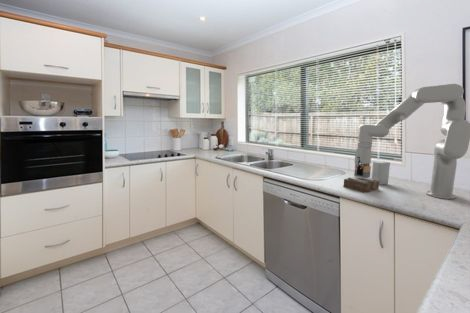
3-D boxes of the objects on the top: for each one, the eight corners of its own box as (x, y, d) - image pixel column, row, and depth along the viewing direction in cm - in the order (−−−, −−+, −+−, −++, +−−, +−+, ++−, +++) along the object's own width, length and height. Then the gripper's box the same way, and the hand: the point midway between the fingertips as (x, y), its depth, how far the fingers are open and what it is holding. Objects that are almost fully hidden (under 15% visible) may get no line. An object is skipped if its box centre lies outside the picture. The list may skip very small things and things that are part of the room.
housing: (359, 174, 155) (359, 164, 154) (369, 177, 149) (370, 165, 148) (354, 175, 153) (355, 164, 152) (365, 178, 147) (366, 166, 146)
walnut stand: (356, 183, 162) (357, 175, 161) (378, 189, 150) (379, 179, 149) (343, 186, 154) (344, 177, 154) (365, 192, 143) (365, 182, 142)
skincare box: (381, 182, 167) (383, 160, 164) (388, 184, 161) (390, 162, 159) (370, 182, 165) (372, 161, 163) (377, 185, 159) (379, 162, 157)
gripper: (366, 144, 156) (364, 172, 158) (350, 145, 147) (348, 175, 150) (378, 145, 149) (376, 174, 152) (362, 146, 141) (359, 177, 143)
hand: (362, 174), depth 151 cm, fingers closed on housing, 5 cm apart
